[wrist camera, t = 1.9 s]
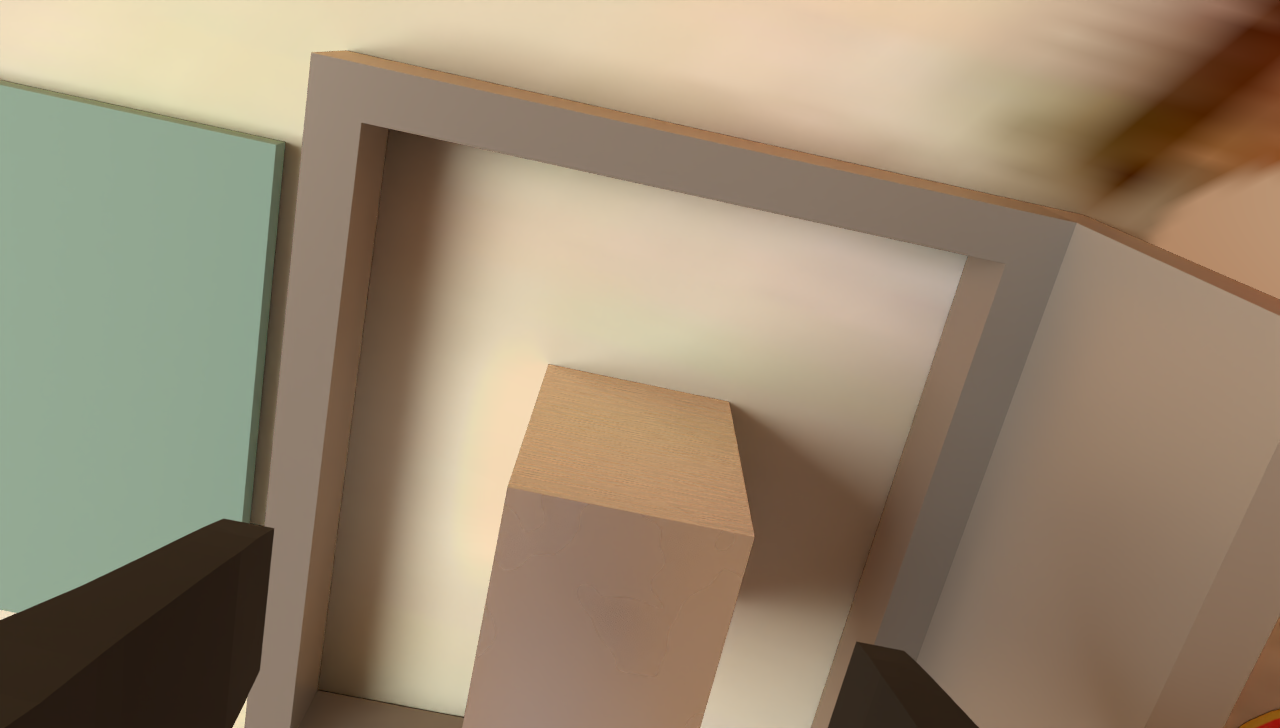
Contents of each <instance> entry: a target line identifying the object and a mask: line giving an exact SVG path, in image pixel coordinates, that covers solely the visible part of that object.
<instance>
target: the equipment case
mask: <svg viewBox="0 0 1280 728" xmlns="http://www.w3.org/2000/svg"><path fill="white" fill-rule="evenodd" d="M389 129H393V130H398V131H402V132H407V133H411V134H416V135H421V136H425V137H430V138H434V139H439V140H443V141H448V142H453V143H457V144H462V145H466V146H471V147H475V148H480V149H484V150H489V151H494V152H498V153H503V154H507V155H512V156H516V157H521V158H525V159H530V160H535V161H539V162H544V163H548V164H553V165H557V166H562V167H566V168H571V169H576V170H580V171H585V172H589V173H594V174H598V175H603V176H607V177H612V178H617V179H621V180H626V181H630V182H635V183H639V184H644V185H648V186H653V187H658V188H662V189H667V190H671V191H676V192H680V193H685V194H690V195H694V196H699V197H703V198H708V199H712V200H717V201H721V202H726V203H731V204H735V205H740V206H744V207H749V208H753V209H758V210H762V211H767V212H772V213H776V214H781V215H785V216H790V217H794V218H799V219H803V220H808V221H813V222H817V223H822V224H826V225H831V226H835V227H840V228H844V229H849V230H854V231H858V232H863V233H867V234H872V235H876V236H881V237H886V238H890V239H895V240H899V241H904V242H908V243H913V244H917V245H922V246H927V247H931V248H936V249H940V250H945V251H949V252H954V253H958V254H963V255H968V257H967V260H966V263H965V266H964V269H963V272H962V275H961V278H960V281H959V284H958V287H957V290H956V293H955V296H954V299H953V302H952V305H951V308H950V311H949V314H948V317H947V320H946V323H945V326H944V329H943V332H942V336H941V339H940V342H939V345H938V348H937V351H936V354H935V357H934V360H933V363H932V366H931V369H930V372H929V375H928V378H927V381H926V384H925V387H924V390H923V393H922V396H921V399H920V402H919V405H918V408H917V411H916V414H915V417H914V420H913V423H912V426H911V429H910V432H909V435H908V438H907V441H906V444H905V447H904V450H903V453H902V456H901V459H900V462H899V465H898V468H897V471H896V474H895V477H894V480H893V483H892V486H891V489H890V492H889V495H888V498H887V501H886V504H885V507H884V510H883V513H882V516H881V519H880V522H879V525H878V528H877V531H876V534H875V537H874V540H873V543H872V546H871V549H870V552H869V555H868V558H867V561H866V564H865V567H864V570H863V573H862V576H861V579H860V582H859V585H858V588H857V591H856V594H855V597H854V600H853V603H852V606H851V609H850V612H849V615H848V618H847V621H846V624H845V627H844V630H843V633H842V636H841V639H840V642H839V645H838V648H837V651H836V654H835V657H834V660H833V663H832V666H831V669H830V672H829V675H828V678H827V681H826V684H825V687H824V690H823V693H822V696H821V699H820V702H819V705H818V708H817V711H816V714H815V717H814V720H813V723H812V726H811V728H828V725H829V722H830V719H831V716H832V713H833V710H834V707H835V704H836V701H837V698H838V695H839V692H840V689H841V686H842V683H843V680H844V677H845V674H846V671H847V668H848V665H849V662H850V659H851V656H852V653H853V650H854V647H855V644H856V641H857V642H862V643H867V644H872V645H877V646H882V647H888V648H893V649H898V650H903V651H905V652H906V653H907V654H908V655H909V656H911V657H912V658H913V659H914V660H915V661H916V662H917V663H918V664H919V665H920V666H921V667H922V668H923V669H924V670H925V671H926V672H927V673H928V674H929V675H930V676H931V677H932V678H933V679H934V680H935V681H936V683H937V684H938V685H939V686H940V687H941V688H942V689H943V690H944V691H945V692H946V693H947V694H948V695H949V696H950V697H951V698H952V699H953V701H954V702H955V703H956V704H957V705H958V706H959V707H960V708H961V709H962V710H963V711H964V712H965V713H966V714H967V715H968V717H969V718H970V719H971V720H972V721H973V722H974V723H975V724H976V725H977V726H978V727H979V728H1224V726H1225V724H1226V722H1227V720H1228V718H1229V716H1230V714H1231V712H1232V710H1233V708H1234V706H1235V704H1236V702H1237V700H1238V698H1239V696H1240V694H1241V692H1242V690H1243V688H1244V686H1245V684H1246V682H1247V680H1248V678H1249V676H1250V674H1251V672H1252V670H1253V668H1254V666H1255V664H1256V662H1257V660H1258V658H1259V656H1260V654H1261V652H1262V650H1263V648H1264V646H1265V644H1266V642H1267V640H1268V638H1269V636H1270V634H1271V632H1272V630H1273V628H1274V626H1275V624H1276V622H1277V620H1278V618H1279V616H1280V299H1277V298H1275V297H1272V296H1270V295H1268V294H1266V293H1263V292H1261V291H1259V290H1256V289H1254V288H1251V287H1249V286H1247V285H1245V284H1242V283H1240V282H1238V281H1236V280H1233V279H1231V278H1229V277H1226V276H1224V275H1221V274H1219V273H1217V272H1215V271H1212V270H1210V269H1208V268H1205V267H1203V266H1201V265H1198V264H1196V263H1194V262H1191V261H1189V260H1187V259H1184V258H1182V257H1180V256H1178V255H1175V254H1173V253H1171V252H1168V251H1166V250H1164V249H1161V248H1159V247H1157V246H1154V245H1152V244H1150V243H1148V242H1145V241H1143V240H1141V239H1138V238H1136V237H1134V236H1131V235H1129V234H1127V233H1124V232H1122V231H1120V230H1117V229H1115V228H1113V227H1110V226H1108V225H1106V224H1103V223H1101V222H1099V221H1097V220H1094V219H1092V218H1090V217H1087V216H1085V215H1082V214H1077V213H1073V212H1068V211H1064V210H1059V209H1055V208H1050V207H1046V206H1041V205H1037V204H1032V203H1028V202H1023V201H1019V200H1015V199H1010V198H1006V197H1001V196H997V195H992V194H988V193H983V192H979V191H974V190H970V189H965V188H961V187H956V186H952V185H947V184H943V183H938V182H934V181H929V180H925V179H920V178H916V177H911V176H907V175H902V174H898V173H893V172H889V171H884V170H880V169H876V168H871V167H867V166H862V165H858V164H853V163H849V162H844V161H840V160H835V159H831V158H826V157H822V156H817V155H813V154H808V153H804V152H799V151H795V150H790V149H786V148H781V147H777V146H772V145H768V144H763V143H759V142H754V141H750V140H746V139H741V138H737V137H732V136H728V135H723V134H719V133H714V132H710V131H705V130H701V129H696V128H692V127H687V126H683V125H678V124H674V123H669V122H665V121H660V120H656V119H651V118H647V117H642V116H638V115H633V114H629V113H624V112H620V111H616V110H611V109H607V108H602V107H598V106H593V105H589V104H584V103H580V102H575V101H571V100H566V99H562V98H557V97H553V96H548V95H544V94H539V93H535V92H530V91H526V90H521V89H517V88H512V87H508V86H503V85H499V84H494V83H490V82H485V81H481V80H477V79H472V78H468V77H463V76H459V75H454V74H450V73H445V72H441V71H436V70H432V69H427V68H423V67H418V66H414V65H409V64H405V63H400V62H396V61H391V60H387V59H382V58H378V57H373V56H369V55H364V54H360V53H355V52H351V51H347V50H345V51H329V52H312V53H311V61H310V71H309V81H308V91H307V101H306V111H305V121H304V132H303V142H302V152H301V162H300V172H299V182H298V192H297V202H296V212H295V223H294V233H293V243H292V253H291V263H290V273H289V283H288V293H287V304H286V314H285V324H284V334H283V344H282V354H281V364H280V374H279V384H278V395H277V405H276V415H275V425H274V435H273V445H272V455H271V465H270V475H269V486H268V496H267V506H266V516H265V527H270V528H274V537H273V547H272V557H271V567H270V576H269V586H268V596H267V606H266V616H265V626H264V636H263V645H262V655H261V665H260V671H259V673H258V676H257V678H256V680H255V682H254V684H253V686H252V688H251V690H250V692H249V694H248V698H247V708H246V718H245V728H462V726H463V721H464V718H462V717H457V716H451V715H446V714H441V713H435V712H430V711H425V710H419V709H414V708H409V707H404V706H398V705H393V704H388V703H382V702H377V701H372V700H366V699H361V698H356V697H351V696H345V695H340V694H335V693H329V692H324V691H319V690H318V682H319V674H320V667H321V659H322V651H323V643H324V635H325V627H326V619H327V611H328V604H329V596H330V588H331V580H332V572H333V564H334V556H335V549H336V541H337V533H338V525H339V517H340V509H341V501H342V493H343V486H344V478H345V470H346V462H347V454H348V446H349V438H350V430H351V423H352V415H353V407H354V399H355V391H356V383H357V375H358V367H359V360H360V352H361V344H362V336H363V328H364V320H365V312H366V304H367V297H368V289H369V281H370V273H371V265H372V257H373V249H374V241H375V234H376V226H377V218H378V210H379V202H380V194H381V186H382V178H383V171H384V163H385V155H386V147H387V139H388V131H389Z"/></svg>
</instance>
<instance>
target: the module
mask: <svg viewBox="0 0 1280 728" xmlns="http://www.w3.org/2000/svg"><path fill="white" fill-rule="evenodd" d="M754 538H755V536H754V530H753V525H752V520H751V515H750V509H749V504H748V499H747V493H746V488H745V483H744V478H743V472H742V467H741V462H740V456H739V451H738V446H737V440H736V435H735V430H734V425H733V419H732V414H731V409H730V403H729V402H728V401H723V400H718V399H714V398H709V397H704V396H699V395H694V394H690V393H685V392H680V391H675V390H670V389H666V388H661V387H656V386H651V385H646V384H642V383H637V382H632V381H627V380H622V379H618V378H613V377H608V376H603V375H599V374H594V373H589V372H584V371H579V370H575V369H570V368H565V367H560V366H555V365H551V364H548V367H547V370H546V373H545V376H544V379H543V382H542V385H541V388H540V391H539V394H538V397H537V400H536V403H535V406H534V409H533V412H532V415H531V418H530V421H529V424H528V427H527V430H526V433H525V436H524V439H523V442H522V445H521V448H520V451H519V454H518V457H517V460H516V463H515V466H514V469H513V472H512V475H511V478H510V481H509V484H508V487H507V493H506V498H505V503H504V509H503V514H502V519H501V524H500V530H499V535H498V540H497V546H496V551H495V556H494V562H493V567H492V572H491V577H490V583H489V588H488V593H487V599H486V604H485V609H484V615H483V620H482V625H481V630H480V636H479V641H478V646H477V652H476V657H475V662H474V668H473V673H472V678H471V684H470V689H469V694H468V699H467V705H466V710H465V715H464V721H463V726H462V728H700V726H701V723H702V719H703V716H704V712H705V709H706V705H707V702H708V698H709V695H710V691H711V688H712V684H713V681H714V677H715V674H716V670H717V667H718V663H719V660H720V657H721V653H722V650H723V646H724V643H725V639H726V636H727V632H728V629H729V625H730V622H731V618H732V615H733V611H734V608H735V604H736V601H737V597H738V594H739V590H740V587H741V583H742V580H743V576H744V573H745V569H746V566H747V562H748V559H749V555H750V552H751V548H752V545H753V541H754Z"/></svg>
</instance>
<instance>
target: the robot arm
mask: <svg viewBox="0 0 1280 728" xmlns="http://www.w3.org/2000/svg"><path fill="white" fill-rule="evenodd" d="M273 537H274V528H270V527H265V526H260V525H255V524H250V523H245V522H239V521H234V520H229V519H221V520H219V521H216V522H214V523H212V524H209V525H207V526H205V527H203V528H200V529H198V530H196V531H194V532H192V533H190V534H188V535H186V536H184V537H182V538H180V539H178V540H176V541H173V542H171V543H169V544H167V545H165V546H163V547H161V548H159V549H157V550H155V551H153V552H151V553H149V554H147V555H145V556H143V557H141V558H139V559H137V560H134V561H132V562H130V563H128V564H126V565H124V566H122V567H120V568H118V569H116V570H113V571H111V572H109V573H107V574H105V575H103V576H101V577H99V578H97V579H95V580H92V581H90V582H88V583H86V584H84V585H82V586H80V587H77V588H75V589H73V590H70V591H68V592H66V593H63V594H61V595H59V596H56V597H54V598H52V599H49V600H47V601H44V602H42V603H40V604H37V605H35V606H33V607H30V608H28V609H26V610H23V611H21V612H19V613H16V614H14V615H12V616H9V617H7V618H5V619H2V620H0V728H232V727H233V725H234V723H235V721H236V719H237V717H238V715H239V713H240V711H241V709H242V707H243V705H244V703H245V701H246V699H247V697H248V694H249V692H250V690H251V688H252V686H253V684H254V682H255V680H256V678H257V676H258V673H259V671H260V665H261V655H262V645H263V636H264V626H265V616H266V606H267V596H268V586H269V576H270V567H271V557H272V547H273ZM828 728H979V727H978V726H977V725H976V724H975V723H974V722H973V721H972V720H971V719H970V718H969V717H968V715H967V714H966V713H965V712H964V711H963V710H962V709H961V708H960V707H959V706H958V705H957V704H956V703H955V702H954V701H953V699H952V698H951V697H950V696H949V695H948V694H947V693H946V692H945V691H944V690H943V689H942V688H941V687H940V686H939V685H938V684H937V683H936V681H935V680H934V679H933V678H932V677H931V676H930V675H929V674H928V673H927V672H926V671H925V670H924V669H923V668H922V667H921V666H920V665H919V664H918V663H917V662H916V661H915V660H914V659H913V658H912V657H911V656H909V655H908V654H907V653H906V652H905V651H903V650H898V649H893V648H888V647H882V646H877V645H872V644H867V643H862V642H857V641H856V644H855V647H854V650H853V653H852V656H851V659H850V662H849V665H848V668H847V671H846V674H845V677H844V680H843V683H842V686H841V689H840V692H839V695H838V698H837V701H836V704H835V707H834V710H833V713H832V716H831V719H830V722H829V725H828Z"/></svg>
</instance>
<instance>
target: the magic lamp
mask: <svg viewBox="0 0 1280 728" xmlns="http://www.w3.org/2000/svg"><path fill="white" fill-rule="evenodd" d="M1239 728H1280V709H1279V710H1275V711H1271V712H1268V713H1266V714H1264V715H1261V716H1259V717H1257V718H1255V719H1252V720H1250V721H1248V722H1247V723H1245V724H1243V725H1242V726H1240V727H1239Z"/></svg>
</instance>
